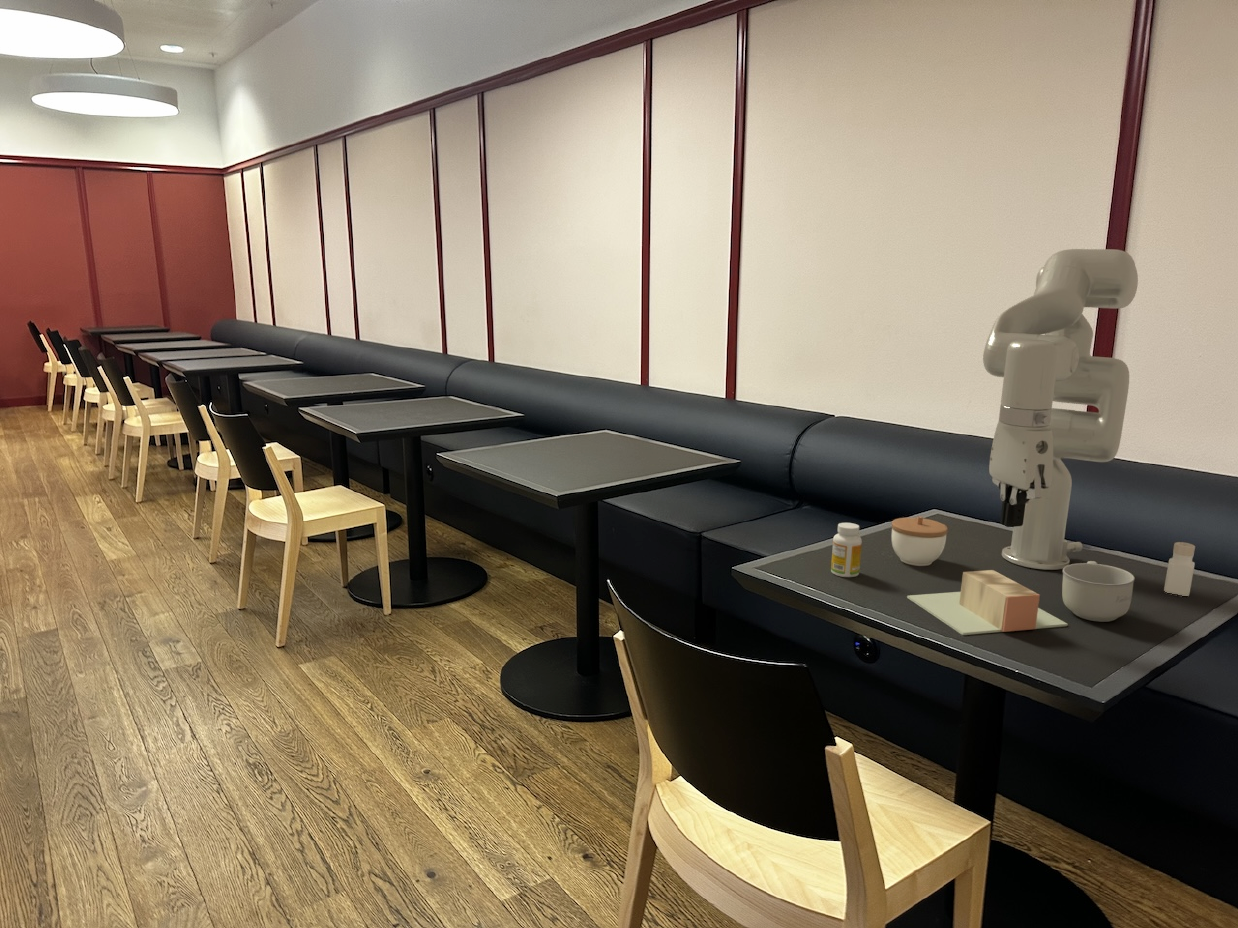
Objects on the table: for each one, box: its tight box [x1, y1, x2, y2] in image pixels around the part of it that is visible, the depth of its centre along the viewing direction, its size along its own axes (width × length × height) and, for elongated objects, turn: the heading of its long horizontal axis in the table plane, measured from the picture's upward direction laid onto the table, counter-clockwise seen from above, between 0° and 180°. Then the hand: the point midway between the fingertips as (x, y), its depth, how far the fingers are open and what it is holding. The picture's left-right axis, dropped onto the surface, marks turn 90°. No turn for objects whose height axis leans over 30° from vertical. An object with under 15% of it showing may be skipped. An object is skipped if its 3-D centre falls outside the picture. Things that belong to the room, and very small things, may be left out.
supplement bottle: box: [830, 522, 863, 578], centre depth 167 cm, size 5×5×10 cm
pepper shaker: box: [1163, 541, 1196, 597], centre depth 160 cm, size 4×4×10 cm
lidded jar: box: [891, 515, 949, 567], centre depth 175 cm, size 11×11×9 cm
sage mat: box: [906, 591, 1068, 636], centre depth 150 cm, size 20×16×1 cm
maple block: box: [959, 569, 1041, 633], centre depth 147 cm, size 6×6×12 cm
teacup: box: [1061, 560, 1135, 623], centre depth 150 cm, size 14×11×8 cm
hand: (1011, 524), depth 144 cm, fingers closed
